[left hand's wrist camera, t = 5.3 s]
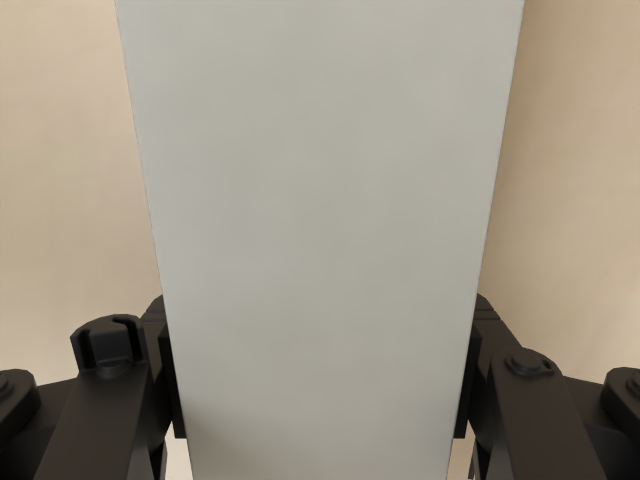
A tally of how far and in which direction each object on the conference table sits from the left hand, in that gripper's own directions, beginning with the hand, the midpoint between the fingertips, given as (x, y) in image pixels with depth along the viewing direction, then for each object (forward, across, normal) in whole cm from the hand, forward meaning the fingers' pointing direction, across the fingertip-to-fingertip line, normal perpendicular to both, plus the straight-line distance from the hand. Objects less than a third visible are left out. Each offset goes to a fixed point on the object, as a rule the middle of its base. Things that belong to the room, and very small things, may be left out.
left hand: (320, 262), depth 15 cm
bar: (+1, 0, -30) cm, 30 cm away
